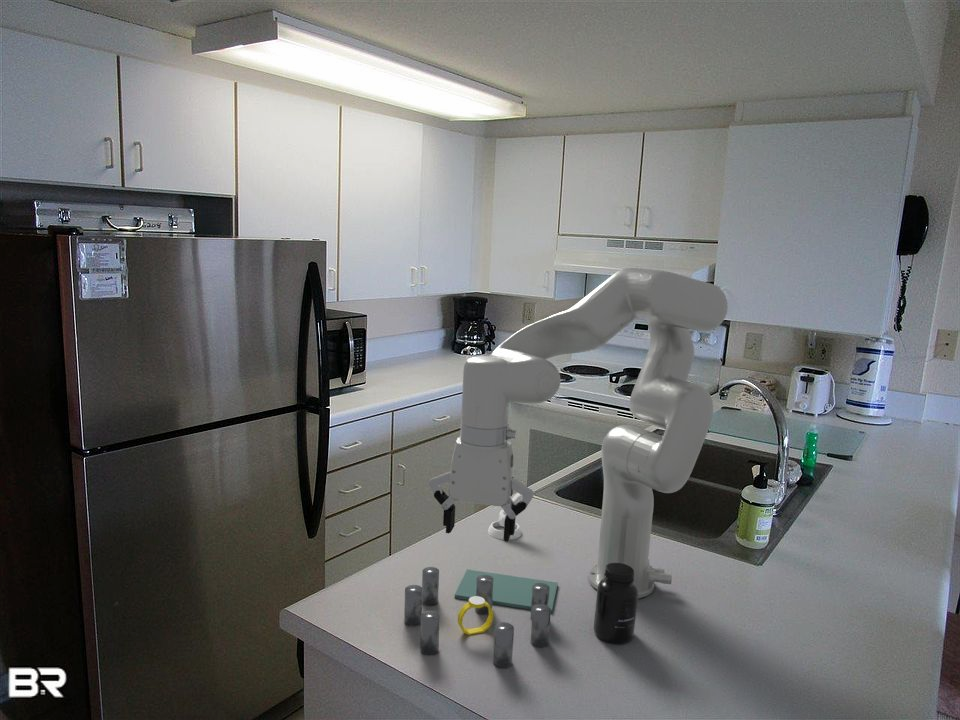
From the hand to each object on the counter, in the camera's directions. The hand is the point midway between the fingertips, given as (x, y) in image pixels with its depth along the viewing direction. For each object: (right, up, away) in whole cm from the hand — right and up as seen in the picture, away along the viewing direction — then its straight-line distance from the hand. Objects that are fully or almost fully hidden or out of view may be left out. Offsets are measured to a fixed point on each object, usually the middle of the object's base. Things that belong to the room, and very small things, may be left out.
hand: (478, 534), depth 112 cm
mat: (+5, -15, +17) cm, 23 cm away
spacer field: (-1, -17, +3) cm, 18 cm away
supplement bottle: (+23, -18, +5) cm, 30 cm away
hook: (+6, -11, +42) cm, 44 cm away
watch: (-1, -18, +3) cm, 18 cm away
